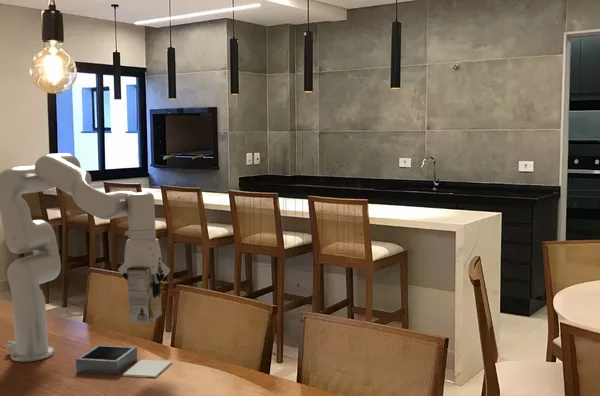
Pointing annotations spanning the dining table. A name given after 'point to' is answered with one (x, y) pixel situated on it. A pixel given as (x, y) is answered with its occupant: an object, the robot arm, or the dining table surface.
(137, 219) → the robot arm
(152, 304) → the coffee box
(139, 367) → the placemat
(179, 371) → the dining table surface
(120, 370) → the holder
